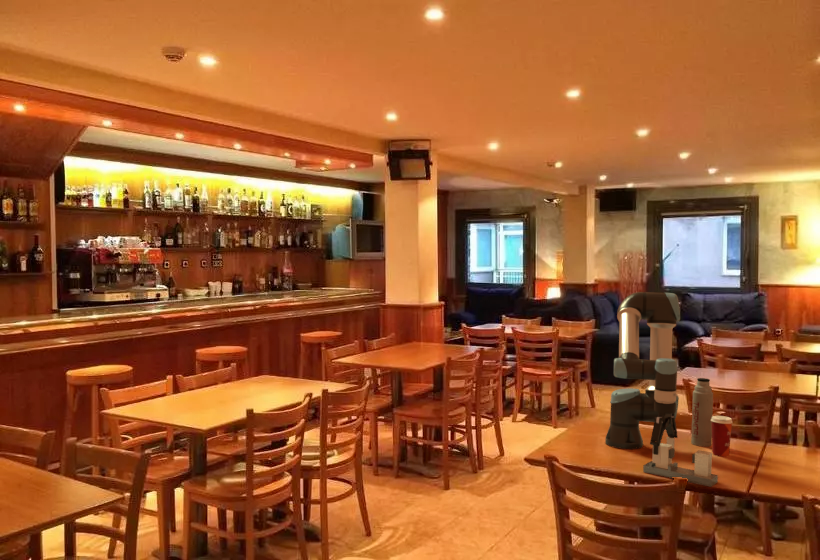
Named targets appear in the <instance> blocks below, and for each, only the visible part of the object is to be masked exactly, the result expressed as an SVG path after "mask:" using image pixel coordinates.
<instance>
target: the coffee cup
mask: <svg viewBox="0 0 820 560" xmlns="http://www.w3.org/2000/svg"><path fill="white" fill-rule="evenodd" d="M711 423H712V445H711V450H712V451H711V453H712V456H717V457H720V458H721V457H723V458H724V457H725V458H726V457H729V455H730V446H731V437H732V436H731V435H732V428H733V427H732V425H733V424H734V423H733V419H732V418H731V417H729V416H724V415H712V419H711Z"/></svg>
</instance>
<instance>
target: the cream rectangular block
mask: <svg viewBox="0 0 820 560" xmlns="http://www.w3.org/2000/svg"><path fill="white" fill-rule="evenodd" d="M660 445H661V464H657V463H656V465H655V467H659V468H664V469H668V466H669V465H671V464H673V458H675V452H676V449H675V447H674V448H672V445H669V444H667V443H665V442H664V443H663V442H662V443H660Z"/></svg>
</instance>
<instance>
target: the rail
mask: <svg viewBox="0 0 820 560" xmlns="http://www.w3.org/2000/svg"><path fill="white" fill-rule="evenodd" d="M691 455H692V456H691V457H692V460H691V463H692V464H694V469H690V468H686V467H680V466H679V465H678V462H676V461H674V462H672V464H671V465H669V466H668V469H664V468H659V467H655V465H656V463H652V460H651V461H648V462H647V463H645V464H644V465H643V470H642V471H643V473H646V474H650V475H655V476H659V477H663V476H664V478H668V477H669V479H673V478H672V477H682V478H687V479H688V482H687V483H692V484H697V485H701V486H705V487H709V488H711V487H713V486H715V484H717V483H718V478H719V477H718V476H719V475H718V474H713V473H712V463H713V461H712V459H713V452H712V451H711V452H710V451H705V450H700V449H698V450H696V451H695V452H694V453H693V454H691Z"/></svg>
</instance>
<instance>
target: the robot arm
mask: <svg viewBox="0 0 820 560" xmlns="http://www.w3.org/2000/svg"><path fill="white" fill-rule="evenodd" d="M616 314H617V315H616V317H617V320H618V322H619V332H618V333H619V335H618V336H619V337H618V338H619V339H618V341H619V342H618V357H615V358H614V359H613V376H614V377H615V378H619V379H626V380H627V379H629V380H630V379H631V380H645V381H646V380H648V381H649V382H648V386H647V387H646V388H645V390H644V391H645V393H644V392H641V390H640V389H639V388H633V387H632V388H619V389H616V390H613V391H612V392H611V394H610V413H609V414H610V416H609V417H610V419H609V420H610V423H609V427H608V430H607V432H606V434H605V439H604V440H605V442H604V443H605V445H608V446H610V447H612V448H617V449H623V450H624V449H625V450H637V449H638V450H639V449H641V448H643V445H644V440H643V437H642V433H641V429H640V422H648V423H653V426H652V432H651V435H650V436H651V437H650V441H649V444H650V445H651V446H652V457H651V458H652V460H651V461H652V463H657V464H661V445H660V443H661V442H662V439H663V436H664V432H666V434H667V436H666V444H669V445H672V448H674V449H675V443H676V442H675V441H676V439H678V431H677V430H678V428H677V423H676V419H677V418H676V417H677V414H678V411H679V410H678V409H679V400H680V397H679V395H678V394H677V386H678V385H677V383H678V382H677V381H678V370H679V369H678V362H677V360H675V359H673V353H672V352H673V328H675V327H677V322H680V321H681V309H680V301H679V297H678V295H677V294H676V293H673V292H667V291H666V292H665V291H663V292H661V291H660V292H656V291H655V292H653V291H651V292H650V291H636V292H633V293H630V294H629V295H628V296H627V297H625V298H624V299H623V300H622V301H621V302H620V304H619V306H618V309H617V312H616ZM641 320H646V325H647V326H648V327H649V328H650V336H649V337H650V338H649V339H650V341H649V343H650V344H649V349H650V350H649V359H640V325H639V323H640V322H641Z"/></svg>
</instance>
